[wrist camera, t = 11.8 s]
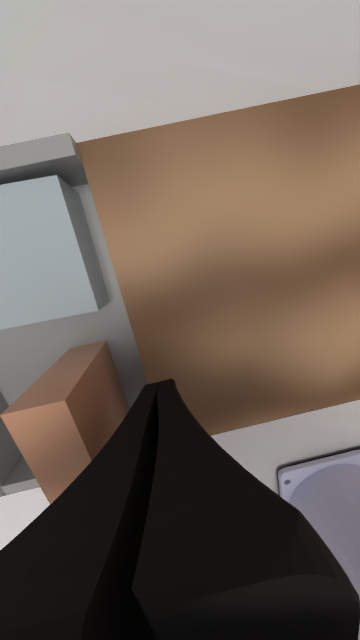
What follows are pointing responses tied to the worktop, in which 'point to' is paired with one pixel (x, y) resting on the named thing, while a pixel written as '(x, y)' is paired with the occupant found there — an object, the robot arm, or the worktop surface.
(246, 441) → the worktop surface
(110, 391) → the terracotta block
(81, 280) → the slate tile
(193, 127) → the board
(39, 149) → the tray
